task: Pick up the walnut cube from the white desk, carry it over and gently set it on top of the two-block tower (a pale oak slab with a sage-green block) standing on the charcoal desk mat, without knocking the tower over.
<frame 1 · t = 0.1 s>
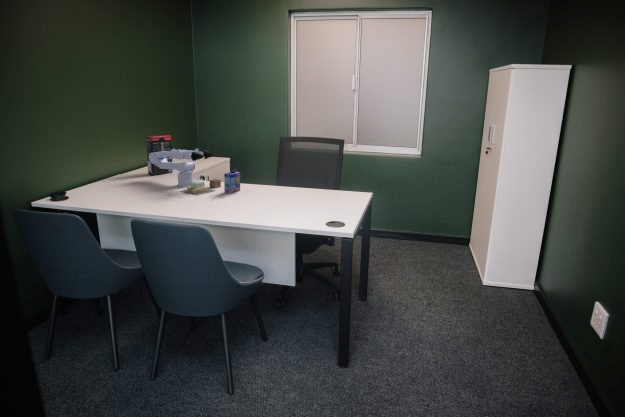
hand: (207, 155, 272), 22 cm above the table, tool horizontal, fingers open, 7 cm apart
sage block: (197, 187, 273), point 3 cm above the table, touching oak slab
oak slab: (197, 191, 273), resting on desk mat, touching sage block
ink cartridge box: (232, 192, 275), on the table
graphics card box: (161, 173, 323), on the table
walnut cube: (215, 187, 286), on the table
desk mat: (197, 191, 274), on the table
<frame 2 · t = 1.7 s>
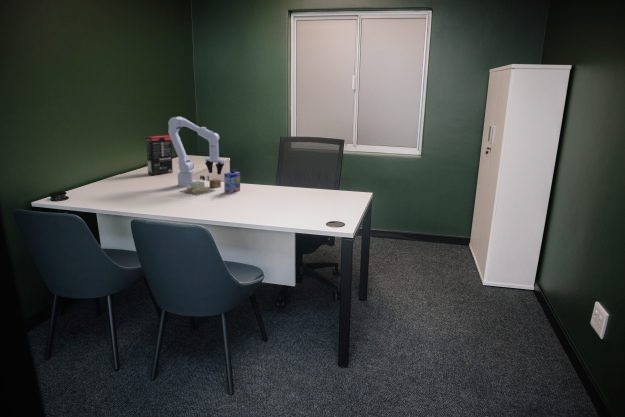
hand: (214, 173, 283), 9 cm above the table, tool pointing down, fingers open, 7 cm apart
nothing on the table moved.
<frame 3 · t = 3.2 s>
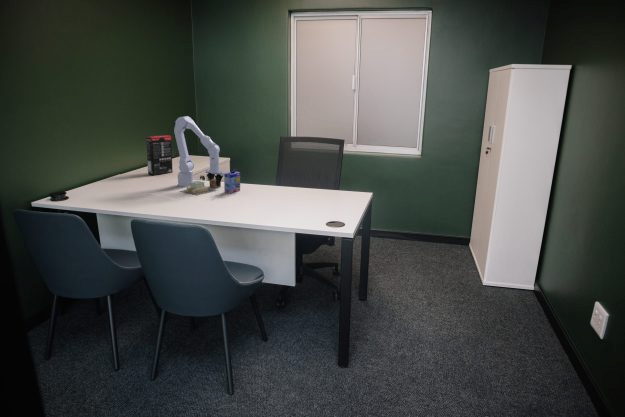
hand: (215, 185, 285), 1 cm above the table, tool pointing down, fingers closed on walnut cube, 5 cm apart
walnut cube: (215, 187, 286), on the table, touching gripper
everything else where it was.
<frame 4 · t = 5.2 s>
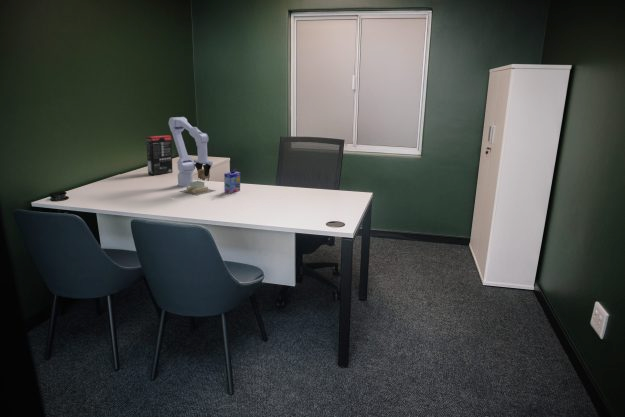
hand: (203, 175, 275), 9 cm above the table, tool pointing down, fingers closed on walnut cube, 5 cm apart
walnut cube: (203, 177, 276), point 8 cm above the table, touching gripper
everything else where it was.
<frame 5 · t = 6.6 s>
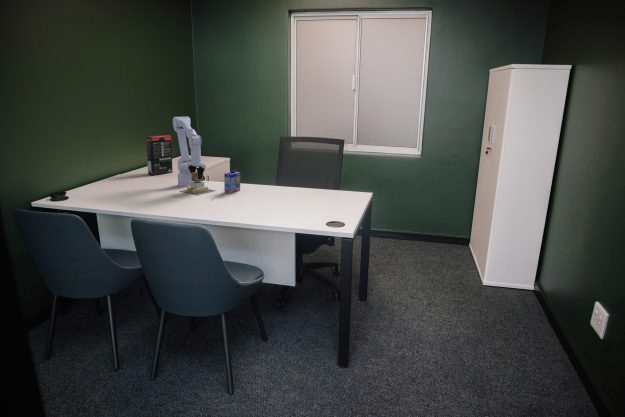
hand: (196, 178, 271), 8 cm above the table, tool pointing down, fingers closed on walnut cube, 5 cm apart
walnut cube: (197, 180, 272), point 7 cm above the table, touching gripper
everything else where it was.
when the fingers open (8 cm above the table, at t = 7.4 s): walnut cube stays where it is, resting on sage block.
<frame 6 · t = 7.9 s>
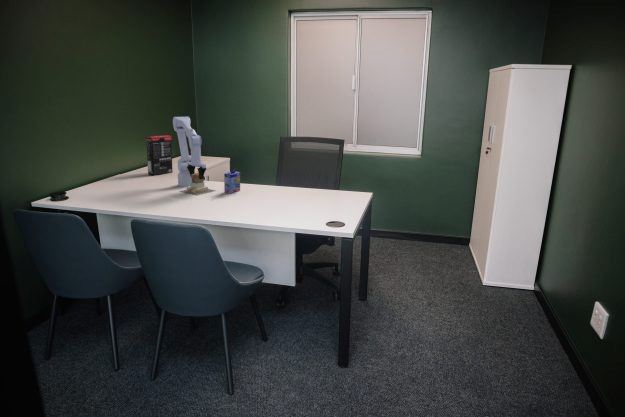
hand: (196, 178, 271), 8 cm above the table, tool pointing down, fingers open, 7 cm apart
sage block: (197, 187, 273), point 3 cm above the table, touching oak slab, walnut cube
walnut cube: (197, 182, 272), point 6 cm above the table, touching sage block
everything else where it was.
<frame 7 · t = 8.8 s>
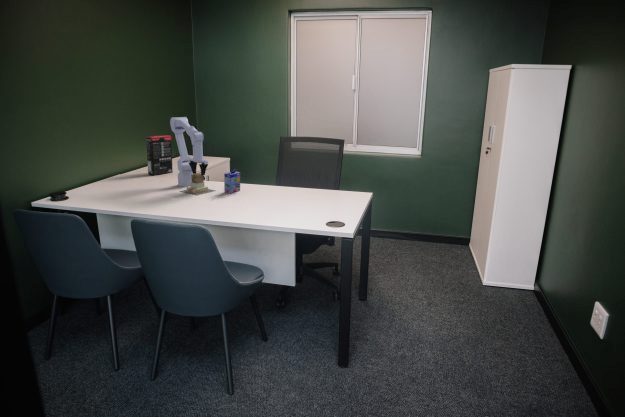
hand: (198, 174, 273), 10 cm above the table, tool pointing down, fingers open, 7 cm apart
sage block: (197, 187, 273), point 3 cm above the table, touching oak slab
walnut cube: (197, 182, 272), point 6 cm above the table, touching gripper
everything else where it was.
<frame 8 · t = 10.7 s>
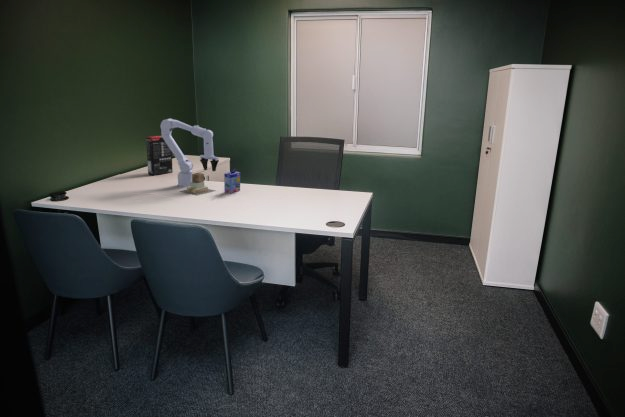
hand: (209, 170, 285), 10 cm above the table, tool pointing down, fingers open, 7 cm apart
sage block: (197, 187, 273), point 3 cm above the table, touching oak slab, walnut cube
walnut cube: (198, 181, 273), point 6 cm above the table, touching sage block
everything else where it was.
at the end: walnut cube 1.1 cm off-centre on the sage block, point 3.0 cm above the sage block's base; sage block moved 0.0 cm from its start; walnut cube tilted 0° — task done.
